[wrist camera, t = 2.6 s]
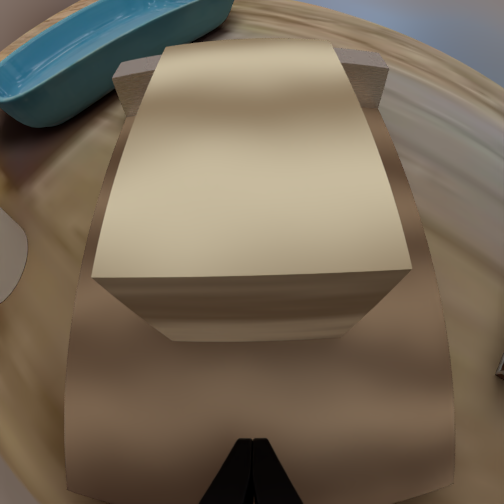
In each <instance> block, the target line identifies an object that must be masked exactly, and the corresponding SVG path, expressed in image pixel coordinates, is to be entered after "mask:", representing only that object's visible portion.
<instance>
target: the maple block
mask: <svg viewBox="0 0 504 504" xmlns="http://www.w3.org/2000/svg"><path fill="white" fill-rule="evenodd" d="M411 270H412V265H411V260H410V256H409V252H408V248H407V244H406V240H405V236H404V232H403V228H402V224H401V221H400V217H399V214H398V210H397V207H396V203H395V200H394V197H393V193H392V190H391V187H390V184H389V181H388V178H387V175H386V172H385V169H384V166H383V163H382V160H381V157H380V155H379V152H378V149H377V146H376V144H375V141H374V138H373V136H372V133H371V131H370V128H369V125H368V123H367V120H366V118H365V116H364V113H363V111H362V108H361V106H360V104H359V101H358V99H357V97H356V94H355V92H354V90H353V88H352V86H351V83H350V81H349V79H348V77H347V75H346V73H345V71H344V69H343V66H342V64H341V62H340V60H339V58H338V56H337V54H336V52H335V51H334V49H333V47H332V45H331V43H330V41H329V40H316V39H293V38H256V39H233V40H219V41H208V42H198V43H190V44H182V45H175V46H168V47H165V50H164V52H163V54H162V56H161V58H160V60H159V62H158V64H157V67H156V69H155V71H154V73H153V76H152V78H151V80H150V83H149V85H148V87H147V90H146V92H145V94H144V97H143V99H142V102H141V104H140V107H139V109H138V112H137V115H136V117H135V120H134V123H133V125H132V128H131V131H130V134H129V136H128V139H127V142H126V145H125V148H124V151H123V154H122V157H121V160H120V163H119V166H118V170H117V173H116V176H115V180H114V183H113V186H112V190H111V193H110V197H109V201H108V204H107V208H106V212H105V216H104V220H103V224H102V228H101V232H100V237H99V241H98V246H97V250H96V255H95V260H94V265H93V270H92V275H91V278H92V279H93V280H95V281H96V282H97V283H98V284H99V285H101V286H102V287H103V288H104V289H105V290H107V291H108V292H109V293H110V294H111V295H113V296H114V297H115V298H116V299H118V300H119V301H120V302H121V303H123V304H124V305H125V306H126V307H128V308H129V309H130V310H131V311H133V312H134V313H135V314H137V315H138V316H139V317H141V318H142V319H143V320H145V321H146V322H147V323H148V324H150V325H151V326H152V327H154V328H155V329H157V330H158V331H159V332H161V333H162V334H163V335H165V336H166V337H168V338H169V339H170V340H172V341H192V342H251V341H284V340H305V339H321V338H336V337H342V336H343V335H344V334H345V333H346V332H347V331H349V330H350V329H351V328H352V327H353V326H354V325H355V324H356V323H357V322H359V321H360V320H361V319H362V318H363V317H364V316H365V315H366V314H367V313H368V312H369V311H370V310H372V309H373V308H374V307H375V306H376V305H377V304H378V303H379V302H380V301H381V300H382V299H383V298H384V297H385V296H386V295H387V294H388V293H389V292H390V291H391V290H392V289H393V288H394V287H395V286H396V285H397V284H398V283H399V282H400V281H401V280H402V279H403V278H404V277H405V276H406V275H407V274H408V273H409V272H410V271H411Z"/></svg>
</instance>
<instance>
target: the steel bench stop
mask: <svg viewBox="0 0 504 504" xmlns="http://www.w3.org/2000/svg"><path fill="white" fill-rule="evenodd" d="M333 49H334V51H335V52H336V54H337V56H338V58H339V60H340V62H341V64H342V66H343V69H344V71H345V73H346V75H347V77H348V79H349V81H350V83H351V86H352V88H353V90H354V92H355V94H356V97H357V99H358V101H359V104H360V106H361V107H365V108H376V109H378V107H379V103H380V100H381V96H382V93H383V89H384V86H385V82H386V79H387V75H388V71H389V67H388V66H387V64H386V63H385V61H384V60H383V59H382V57H381V56H380V54H379V53H375V52H368V51H360V50H351V49H342V48H333ZM161 56H162V55H156V56H150V57H145V58H140V59H135V60H130V61H125V62H121V64H120V65H119V67H118V69H117V70H116V72H115V73H114V75H113V77H112V81H113V84H114V86H115V89H116V92H117V94H118V97H119V99H120V102H121V105H122V107H123V110H124V112H125V115H126V117H131V116H136V115H137V112H138V109H139V107H140V104H141V102H142V99H143V97H144V94H145V92H146V90H147V87H148V85H149V83H150V80H151V78H152V76H153V73H154V71H155V69H156V67H157V64H158V62H159V60H160V58H161Z"/></svg>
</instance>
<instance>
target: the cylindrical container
mask: <svg viewBox="0 0 504 504" xmlns="http://www.w3.org/2000/svg"><path fill="white" fill-rule="evenodd" d="M27 252H28V243H27V237H26V234H25V232H24V231H23V229H22V228H21V227H20V226H19V225H18V224H17V223H16V222H15V221H14V220H13V219H12V218H11V217H10V216H9V215H8V214H7V213H6V212H5V211H4V210H3V209H2V208H1V207H0V303H1V302H2V301H4V300H5V299H6V298H7V297H8V296H9V295H10V294H11V292H12V291H13V289H14V288H15V287H16V285H17V283H18V281H19V279H20V277H21V275H22V272H23V270H24V267H25V263H26V259H27Z"/></svg>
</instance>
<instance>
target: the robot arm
mask: <svg viewBox="0 0 504 504" xmlns="http://www.w3.org/2000/svg"><path fill="white" fill-rule="evenodd" d="M254 503H255V504H304V503H303V501H302V500H301V498H300V496H299V495H298V493H297V491H296V489H295V488H294V486H293V484H292V482H291V480H290V479H289V477H288V475H287V473H286V471H285V470H284V468H283V466H282V464H281V462H280V460H279V459H278V457H277V455H276V453H275V451H274V449H273V447H272V445H271V444H270V442H269V440H268V439H267V438H254V439H253V440H252V439H251V438H239V439H237V440H236V442H235V444H234V446H233V447H232V449H231V451H230V452H229V454H228V456H227V457H226V459H225V461H224V463H223V464H222V466H221V468H220V469H219V471H218V472H217V474H216V476H215V477H214V479H213V481H212V482H211V484H210V485H209V487H208V489H207V490H206V492H205V493H204V495H203V497H202V498H201V500H200V501H199V503H198V504H254Z"/></svg>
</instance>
